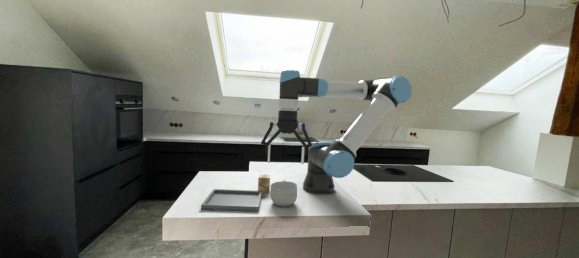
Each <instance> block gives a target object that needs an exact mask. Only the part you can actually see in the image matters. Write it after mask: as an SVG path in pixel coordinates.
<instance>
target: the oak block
mask: <svg viewBox="0 0 579 258" xmlns="http://www.w3.org/2000/svg"><path fill="white" fill-rule="evenodd" d="M257 182H258V183H257V191H262V194H270V191H271V187H270V185H271V174H259V175H258V179H257Z"/></svg>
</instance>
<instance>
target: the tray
mask: <svg viewBox="0 0 579 258" xmlns="http://www.w3.org/2000/svg"><path fill="white" fill-rule="evenodd" d="M262 196H263V193H262V191H258V190H254V189H251V190H250V189H249V190H247V189H246V190H245V189H226V188H225V189H224V188H223V189H222V188H213V189H212V191H211V192H210V193H209V194H208V196H207V197H206V198H205V200H203V202H202V203H201V205H200V211H201V210H204V211H207V210H208V211H209V210H210V211H228V212H229V211H231V212H235V211H236V212H259V211H260V206H261V201H262Z"/></svg>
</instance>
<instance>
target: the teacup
mask: <svg viewBox="0 0 579 258" xmlns="http://www.w3.org/2000/svg"><path fill="white" fill-rule="evenodd" d="M297 197H298V184H297V183H296V182H294V181H293V182H292V181H287V180H286V179H285V180H281V181H276V182H273V183H270V199H271V201H272V203H274V204H275V205H276V206H277V207H283V208H284V207H290V206H292V205H293V204H294V203H295V202H296V201H297Z"/></svg>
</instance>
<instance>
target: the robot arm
mask: <svg viewBox="0 0 579 258" xmlns="http://www.w3.org/2000/svg"><path fill="white" fill-rule="evenodd" d="M412 89H413V88H412V84H411V81H410V80H409V79H408V78H407V77H406V76H403V75H394V76H388V77H386V76H385V77H379V78H378V77H377V78H375V79H369V80H368V79H367V80H365V79H364V80H359V81H357V82H356V81H333V80H326V79H325V78H320V77H309V76H308V77H304V76H302V75H301V74H300V71H299V70H295V69H284V70H282V71H281V72H280V78H279V98H278V109H279V110H278V118H277V122H276V121H275V122H274V121H270V123H269V127H268V130H266V133H265V134H264V137H263V138H262V139H261V141H260V145H263V146H265V150H264V153H265V155H267V163H268V164H270V161H271V145H270V144H271V143H272V142H273V141H274V140H275V139H276V138H277V137H278V136H279V135H280V134H287V135H289V134H290V135H291V134H294V135H295V137H296V138H297V140H298V141H299V142H300V143H301V145H302V147H301V161H300V163H301V165H304V164H305V157H306V156H307V157H308V158H307V172H306V175H305V178H304V181H303V183H302V188H303V190H304V191H306V192H308V193H311V194H316V195H318V194H319V195H327V194H333V193H334V192H335V183H334V182H335V181H334V178H336V179H343V178H345V177H347V176H348V175H350V174H351V172H353V169H354V167H355V165H354V164H355V159H356V157H357V150H359V148H360V147H361V146H362V145H363V143H364V142H365V141H366V140H367V139H368V137H369V136H370V135H371V134H372V132H374V130H375V128H376V127H377V126H378V125H379V124H380V122H381V121H382V120H383V118H384V117H385V116H386V115H387V114H388V112H393V111H395V110H396V109H397V107H398V106H399V104H404V103H406V102H408V101H409V100H410V99H411V96H412V93H413V90H412ZM299 98H337V99H341V98H343V99H344V98H345V99H346V98H347V99H349V98H350V99H358V100H359V101H367V102H368V101H369V104H367V106H366V107H365V108H364V109H363V110H362V111H361V113H360V114H359V115H358V116H357V118H356V119H355V121H353V123H352V124H351V125H350V126H349V128H348V129H347V130H346V131H345V133H344V134H343V135H342V136H341V137H340V138H338V139H334V140H333V141H311V139H310V137H309V135H308V133H307V130H306V124H305V123H304V122H300V123H298V111H297V110H298V109H299ZM275 127H277V128H278V129H277V130H276V132H275V133H274V134H273V135H272V136H271V137H270V138H269V139H268V136H269V135H270V133H271V132H272V129H273V128H275ZM298 127H299V128H300V129H301V131H302V133H303V135H304V138H305V139H306V142H305V141H304V140H303V139H302V137H301V136H300V134H299V133H298V132H297V128H298ZM267 139H268V140H267Z"/></svg>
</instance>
